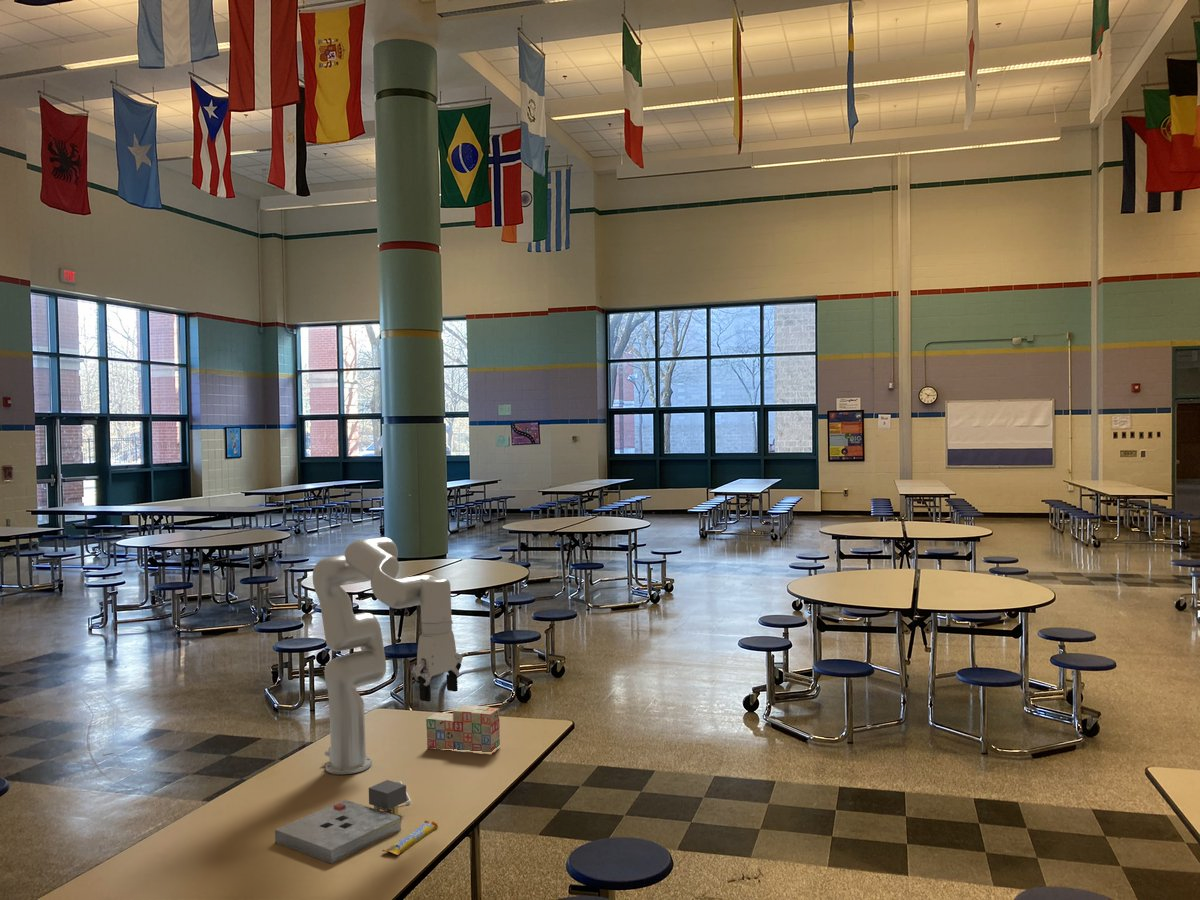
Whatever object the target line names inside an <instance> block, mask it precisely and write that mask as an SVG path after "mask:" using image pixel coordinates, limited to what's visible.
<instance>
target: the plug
mask: <svg viewBox="0 0 1200 900" xmlns="http://www.w3.org/2000/svg"><path fill="white" fill-rule="evenodd" d="M406 791H407V785H406V784H403V783H402V784H400V783H396V781H394V780H390V779H386V780H383V781H381V782H379V783H376V784H373V786H369V787H368V804H369V805H371V806H373V808H374V809H377V810H380V811H381V809H382V808H383V809H382V810H387V811H390V810H391V814H393V815H396V816H399V806H400V805H402V804H405V803H404V802H406V801H407V797H406Z"/></svg>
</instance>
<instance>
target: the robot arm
mask: <svg viewBox="0 0 1200 900" xmlns="http://www.w3.org/2000/svg"><path fill="white" fill-rule="evenodd" d="M398 555H399V549H398V546H397V545H396V543H395V542H394V540H392V539H391V538H389V537H386V536H385V537H384V536H382V537H381V536H380V537H379V536H378V537H372V538H362V539H358V540H355V541H353V542H352V541H351V543H350V544H348V545H347V546H346V549H345V550H344V554H340V555H334V556H333V555H332V556H329V557H326V558H323V559H321V560H319V561H318V562H317V563H315V565H314V567H313V571H312V584H313V589H314V591H315V593H316V596H317V599H318V602H319V604H320V605H319V606H320V610H321V611H320V612H321V618H322V619H321V620H322V625H323V632H324V637H325V644H326V646H327V648H328V649H329V650H330V651H333V652H341V651H347V650H351V649H357V648H360V650H361V651H359V652H353V653H348V654H345V655H340V656H337V657H335V658H332V659H331V660H330V661H329V662H327V663H326V665H325V668H324V680H325V685H326V688H327V689H326V690H327V695H328V705H329V707H328V708H329V710H328V711H329V733H330V734H329V736H330V737H329V738H330V747H329V748H328V750H325V752H324V755H325V756H326V757H328V759H329V761H328V762H327V763H326V764H325V771H326V772H327V773H329V774H331V775H339V776H340V775H351V774H356V773H360V772H363V771H366V770H367V769H369V768H371V766H372V764H373V763H372V761H373V760H372V758H371V757H369V756H367V751H366V750H367V749H366V747H367V746H366V718H365V717H366V716H365V715H366V714H365V713H366V712H365V702H364V700H363V698H362V696H361V695H360V693H358V691H357V688H360V687H363V686H367V685H372V684H374V683H378V682H380V681H381V680H383V679H384V677H385V675H386V673H387V671H386V670H387V662H386V653H385V647H384V642H383V641H384V640H383V633H382V628H381V625H380V621H379V620H378V618H377V617H376V616H375V615H374V614H373V613H371V612H361V613H360V612H359V613H354V611H353V605H352V604H353V603H352V600H351V599H352V598H351V597H350V596H349V594H348V592H347V591H346V590H344V589H343V587H342V586H347V585H352V584H360V583H366V582H370V587H371V591H372V594H373V595H374V597H375V599H377V600H378V601H380V602H381V603H383V604H384V605H385V606H388V607H389V608H392V609H397V610H398V609H399V610H400V609H405V608H406V609H407V608H409V607H410V608H411V607H414V606H415V607H416V606H420V618H421V619H420V621H421V624H420V625H421V635H419V638H418V643H417V653H416V665H415V666H414V667H413V668H412V669H411V674H412V676H413V679H414V681H415V682H416V684H417V685H418V686H419V687H418V688H419V700H420V701H421V702H422V701H423V702H428V703H429V702H431V701H432V697H431V696H432V693H431V684H430V681H431V679H432V677H434V676H435V677H436V676H438V675H442V674H444V673H447V674H446V676H445V677H446V691H448V692H449V691H450V692H455V693H456V692H458V689H459V688H458V676H459V674H460V669H461V667H462V662H463V658H464V656H463V655H462V654H460V653H458V652H457V648H456V640H455V636H454V631H453V623H454V622H453V619H452V595H451V594H452V592H451V583H450V581H449V579H448V578H444V577H435V576H433V575H430V574H419V575H412V576H407V577H400V578H396V577H397V575H398V574H399V570H400V563H399V560H398V558H399V557H398Z"/></svg>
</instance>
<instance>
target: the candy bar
mask: <svg viewBox="0 0 1200 900" xmlns="http://www.w3.org/2000/svg"><path fill="white" fill-rule="evenodd" d="M437 828H439V826H438V823H437V822H435V821H431V823H430V821H429V820H424V823H423V824H422V825H421V826H418V827H417V828H416V829H414V830H413V831H412V832H410V833H409V834H407V835H405V836H404V837H402V838H401V839H399V840H398V841H396V842H394V843H393V844H391V845H390V846H389V847H387V849H382V850H381V852H387V853H391V854H392V855H395V856H398V855H400V854H403V853H404V852H405V851H407V850H408V849H410V848H411V847H413V846H414V845H415V844H417V843H419V842H420V841H421V840H422V839H424V838H425V837H427V836H428V835H429V834H431V833H432V832H434V831H435V830H436V829H437Z"/></svg>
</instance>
